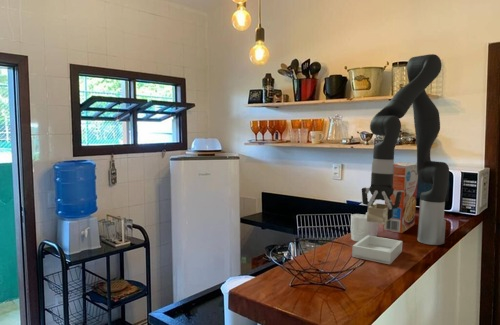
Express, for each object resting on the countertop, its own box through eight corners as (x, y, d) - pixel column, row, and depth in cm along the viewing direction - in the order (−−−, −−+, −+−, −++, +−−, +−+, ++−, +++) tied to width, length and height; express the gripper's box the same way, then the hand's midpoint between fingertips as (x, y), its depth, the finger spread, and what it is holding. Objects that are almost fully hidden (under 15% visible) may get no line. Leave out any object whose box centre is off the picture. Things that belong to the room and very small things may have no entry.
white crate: (367, 245, 153) (367, 235, 153) (401, 251, 146) (402, 241, 146) (352, 256, 138) (352, 245, 138) (389, 264, 131) (390, 252, 131)
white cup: (345, 238, 162) (346, 214, 161) (361, 236, 165) (362, 213, 165) (358, 243, 155) (359, 218, 154) (373, 241, 158) (375, 217, 157)
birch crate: (375, 216, 147) (376, 203, 147) (391, 218, 144) (392, 205, 144) (366, 221, 138) (367, 207, 138) (384, 224, 135) (385, 209, 134)
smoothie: (381, 238, 164) (382, 205, 163) (365, 236, 165) (367, 204, 164) (379, 234, 170) (380, 202, 169) (363, 233, 172) (365, 201, 171)
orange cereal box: (401, 233, 173) (405, 166, 171) (383, 230, 178) (387, 164, 176) (414, 224, 192) (418, 163, 189) (397, 221, 196) (401, 162, 194)
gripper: (359, 170, 140) (356, 216, 142) (401, 174, 133) (398, 223, 134) (365, 169, 147) (363, 213, 148) (405, 172, 139) (402, 219, 140)
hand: (379, 217), depth 141 cm, fingers closed on birch crate, 6 cm apart
